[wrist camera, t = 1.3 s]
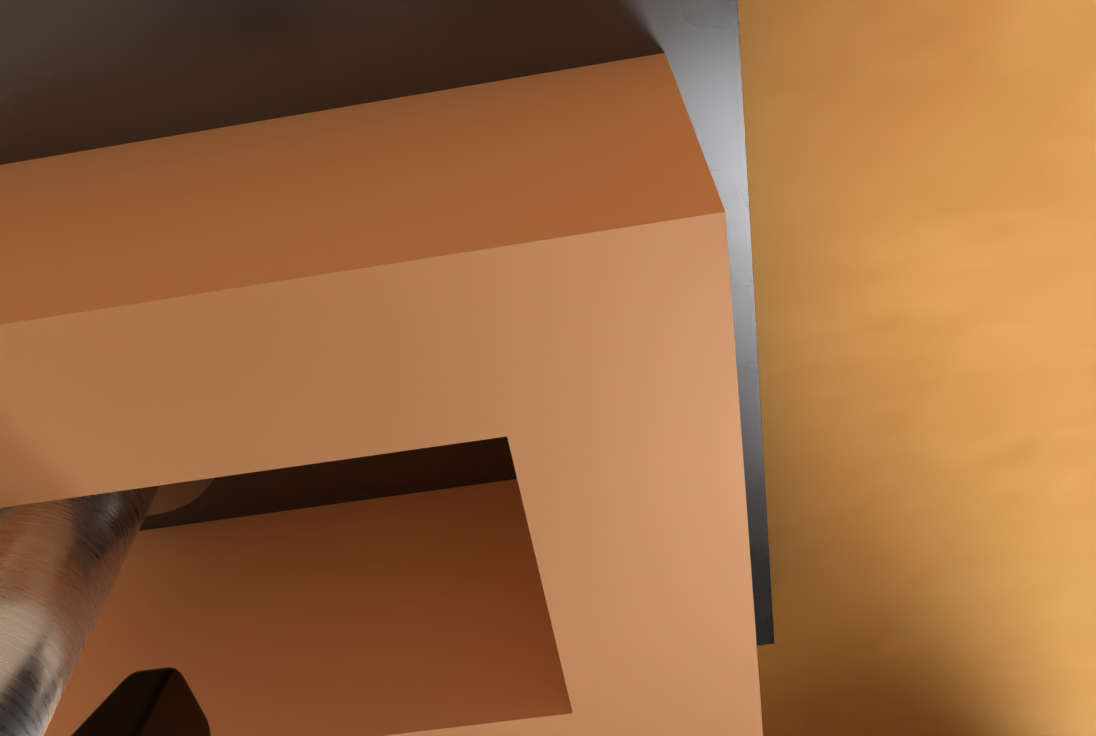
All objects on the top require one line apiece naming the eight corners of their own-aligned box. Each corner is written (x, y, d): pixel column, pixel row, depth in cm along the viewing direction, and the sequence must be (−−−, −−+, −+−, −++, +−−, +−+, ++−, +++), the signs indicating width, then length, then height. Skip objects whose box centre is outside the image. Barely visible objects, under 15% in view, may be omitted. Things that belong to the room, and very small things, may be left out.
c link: (713, 546, 15) (767, 790, 12) (134, 622, 16) (28, 873, 12) (664, 52, 11) (724, 211, 8) (-117, 184, 12) (-376, 383, 8)
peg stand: (762, 596, 17) (871, 1018, 12) (85, 682, 18) (-106, 1109, 13) (709, -211, 10) (905, -108, 5) (-361, -10, 11) (-1174, 265, 6)
